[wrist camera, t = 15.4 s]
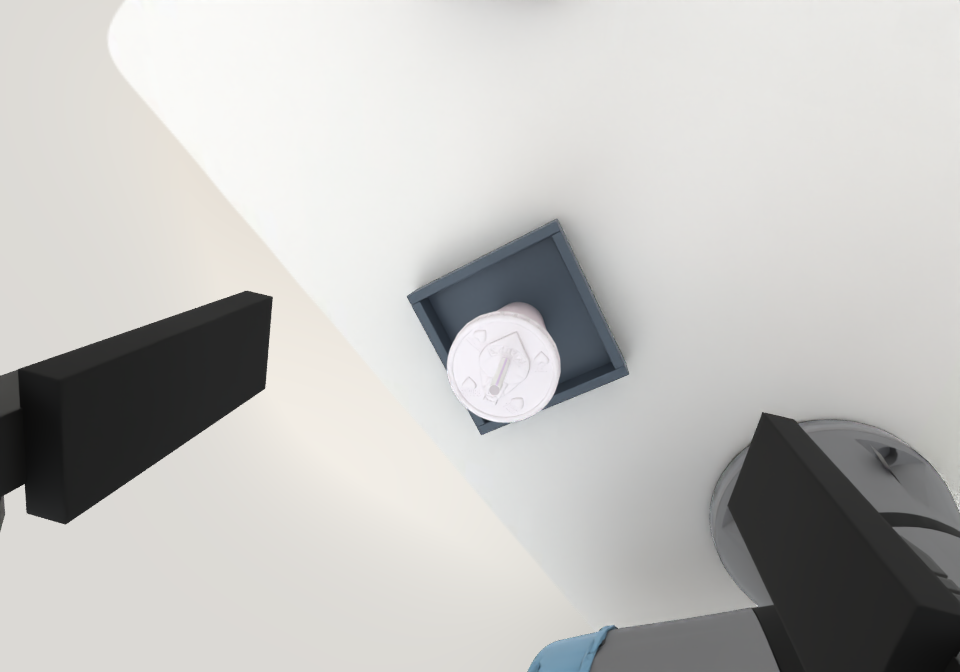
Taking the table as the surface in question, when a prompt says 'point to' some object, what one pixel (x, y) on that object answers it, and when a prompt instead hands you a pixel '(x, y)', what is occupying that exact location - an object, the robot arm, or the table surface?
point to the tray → (541, 283)
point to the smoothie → (504, 364)
